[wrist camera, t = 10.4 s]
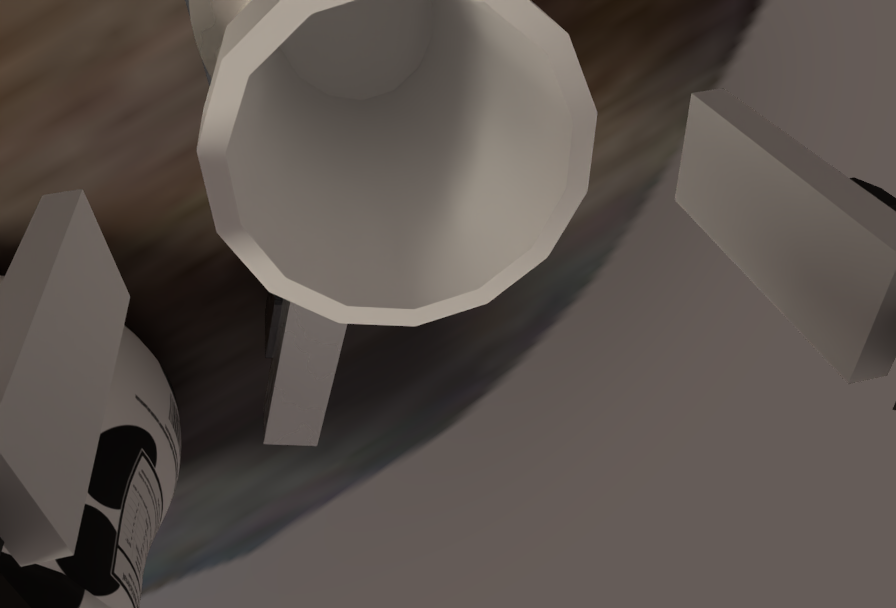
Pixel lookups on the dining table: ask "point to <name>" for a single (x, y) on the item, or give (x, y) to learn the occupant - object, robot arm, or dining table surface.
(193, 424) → the dining table surface
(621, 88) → the dining table surface
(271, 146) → the foam cup
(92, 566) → the milk container
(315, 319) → the shaft stand
